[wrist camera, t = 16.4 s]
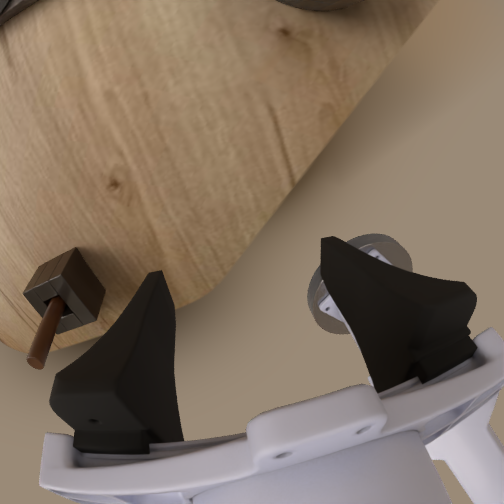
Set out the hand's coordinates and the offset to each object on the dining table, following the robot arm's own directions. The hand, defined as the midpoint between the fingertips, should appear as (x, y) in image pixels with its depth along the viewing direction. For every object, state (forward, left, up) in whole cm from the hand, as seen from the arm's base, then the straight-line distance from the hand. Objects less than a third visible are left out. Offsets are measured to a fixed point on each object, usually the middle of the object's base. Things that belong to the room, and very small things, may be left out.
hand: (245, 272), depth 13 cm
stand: (+7, +14, -10) cm, 19 cm away
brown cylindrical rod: (+7, +14, -10) cm, 19 cm away
